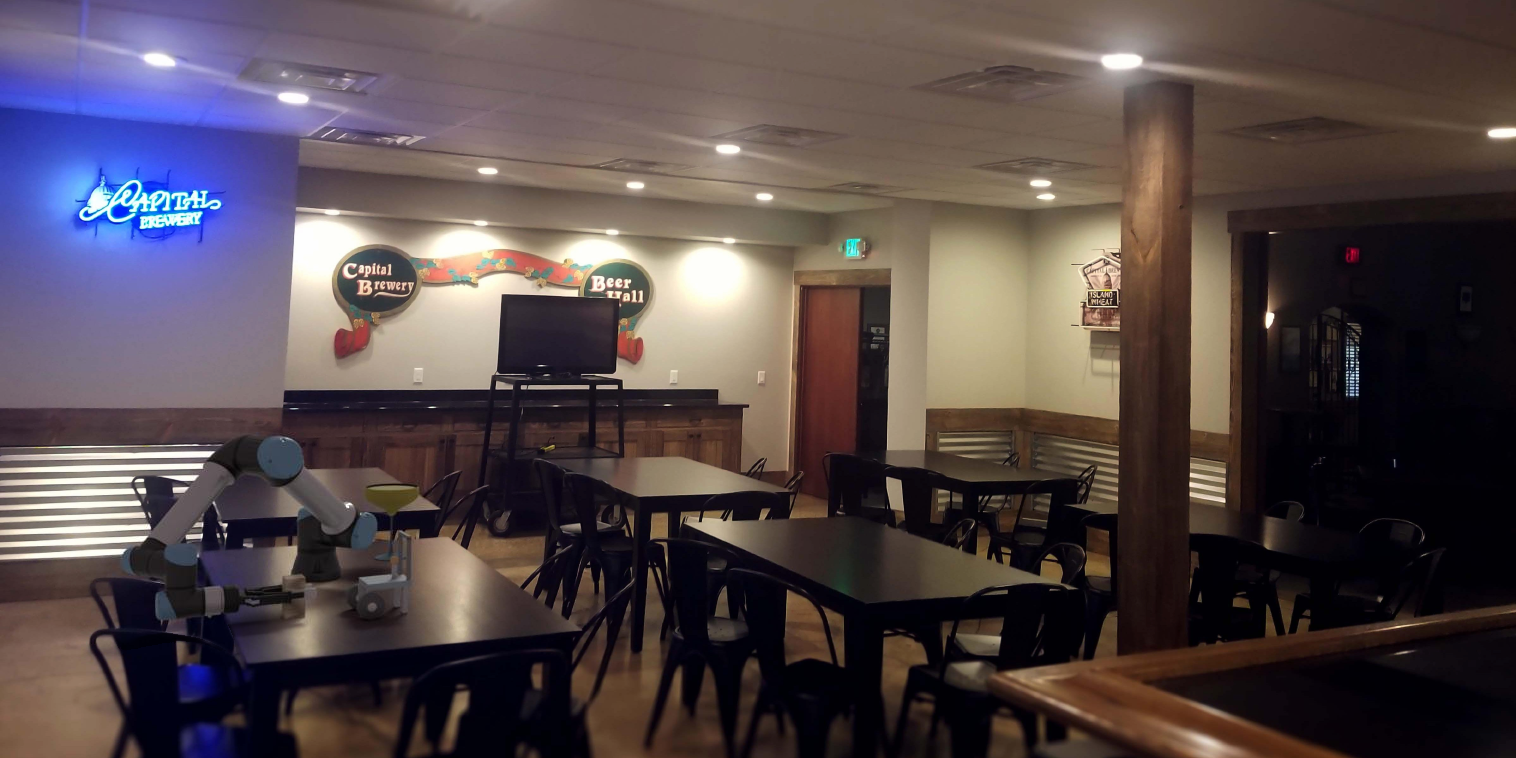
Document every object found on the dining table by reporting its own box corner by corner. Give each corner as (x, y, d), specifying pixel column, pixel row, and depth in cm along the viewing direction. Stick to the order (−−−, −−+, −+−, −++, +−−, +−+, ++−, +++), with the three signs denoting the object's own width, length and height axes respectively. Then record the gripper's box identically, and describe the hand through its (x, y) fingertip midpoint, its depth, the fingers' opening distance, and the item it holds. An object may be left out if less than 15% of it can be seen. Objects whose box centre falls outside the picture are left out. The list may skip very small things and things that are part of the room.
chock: (285, 619, 296) (285, 579, 296) (281, 615, 300) (282, 575, 300) (304, 617, 299) (305, 577, 299) (301, 612, 303) (301, 573, 303)
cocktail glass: (397, 550, 392) (398, 481, 391) (428, 557, 382) (429, 486, 381) (352, 557, 378) (353, 486, 377) (384, 565, 367) (385, 491, 366)
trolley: (358, 621, 296) (359, 542, 295) (345, 608, 309) (346, 533, 308) (414, 614, 304) (415, 537, 304) (398, 602, 317) (399, 529, 316)
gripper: (216, 606, 297) (306, 597, 310) (226, 621, 282) (321, 611, 295) (216, 579, 297) (307, 571, 310) (227, 593, 282) (321, 583, 295)
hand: (313, 590), depth 302 cm, fingers closed on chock, 5 cm apart
